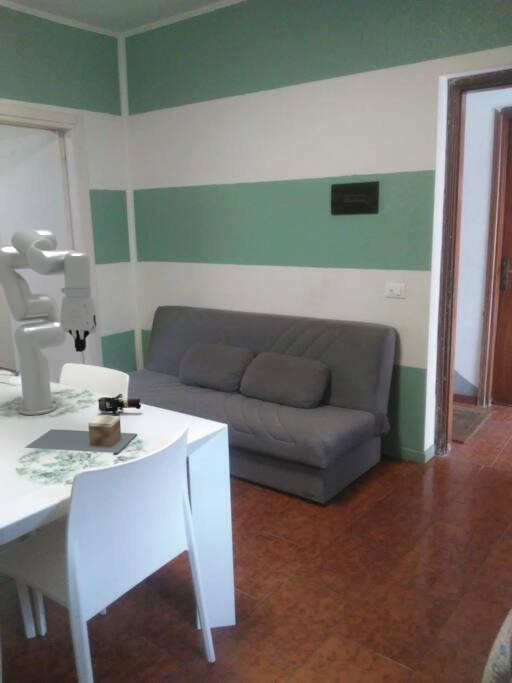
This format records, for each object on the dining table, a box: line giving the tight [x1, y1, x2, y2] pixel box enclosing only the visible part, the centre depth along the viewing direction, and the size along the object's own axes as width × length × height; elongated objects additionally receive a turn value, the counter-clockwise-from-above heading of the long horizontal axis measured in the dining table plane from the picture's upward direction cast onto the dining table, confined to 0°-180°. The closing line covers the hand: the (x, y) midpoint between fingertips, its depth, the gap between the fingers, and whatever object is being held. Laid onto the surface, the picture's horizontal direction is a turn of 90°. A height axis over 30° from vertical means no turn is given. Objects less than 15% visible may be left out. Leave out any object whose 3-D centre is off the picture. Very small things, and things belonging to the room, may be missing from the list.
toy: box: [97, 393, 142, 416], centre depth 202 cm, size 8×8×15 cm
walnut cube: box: [88, 414, 122, 446], centre depth 174 cm, size 7×7×7 cm
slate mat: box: [24, 428, 138, 456], centre depth 176 cm, size 29×16×1 cm, turn 81°
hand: (80, 350), depth 181 cm, fingers closed
